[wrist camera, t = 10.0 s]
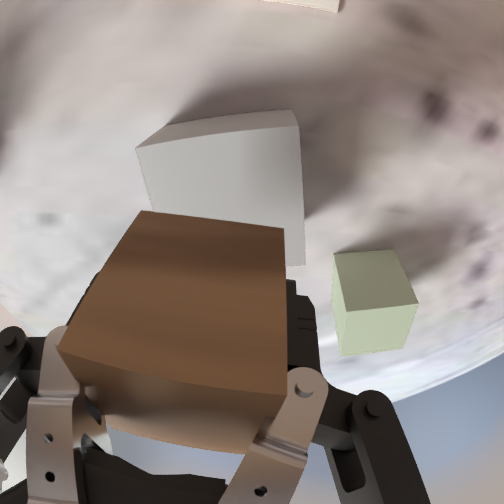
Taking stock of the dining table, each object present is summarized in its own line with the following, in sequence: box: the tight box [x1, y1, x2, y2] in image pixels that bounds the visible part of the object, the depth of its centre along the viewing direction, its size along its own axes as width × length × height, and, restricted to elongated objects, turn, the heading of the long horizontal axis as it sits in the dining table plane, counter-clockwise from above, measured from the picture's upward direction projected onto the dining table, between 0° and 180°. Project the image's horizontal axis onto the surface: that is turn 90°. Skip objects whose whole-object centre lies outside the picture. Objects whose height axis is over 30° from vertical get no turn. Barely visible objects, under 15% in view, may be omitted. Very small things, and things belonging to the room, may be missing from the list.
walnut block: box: [56, 210, 287, 454], centre depth 9 cm, size 5×5×6 cm
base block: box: [135, 109, 306, 266], centre depth 18 cm, size 8×8×5 cm
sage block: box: [331, 249, 419, 356], centre depth 22 cm, size 5×5×6 cm
